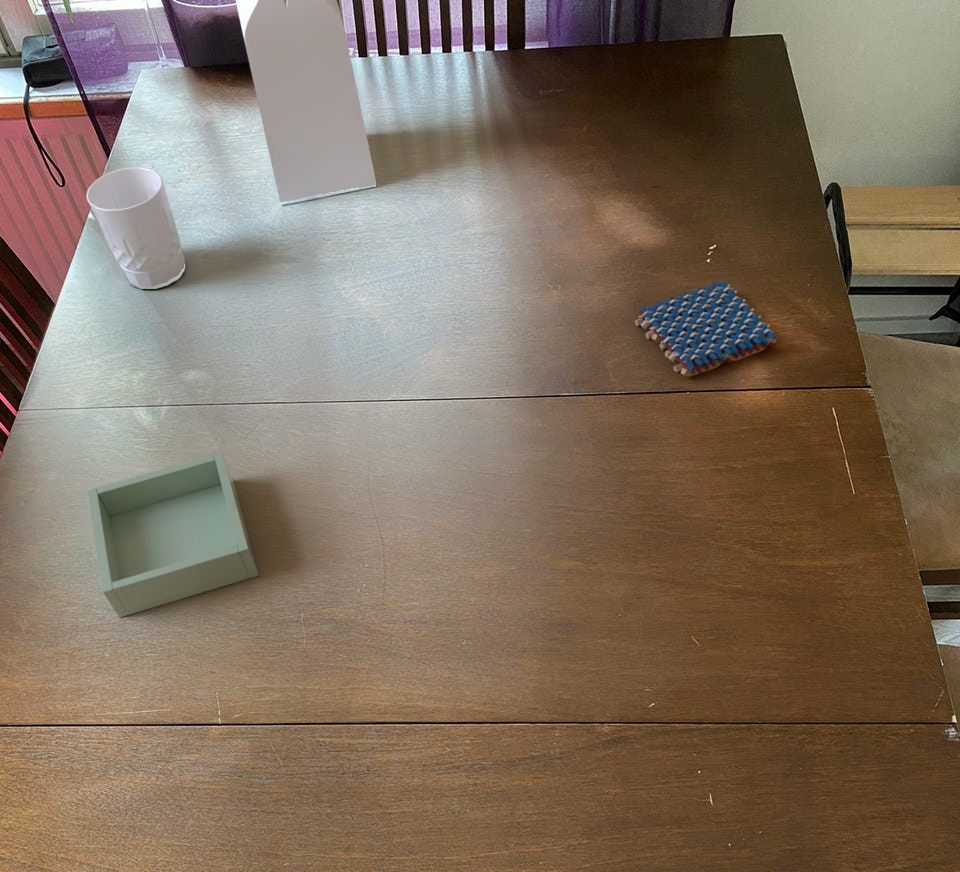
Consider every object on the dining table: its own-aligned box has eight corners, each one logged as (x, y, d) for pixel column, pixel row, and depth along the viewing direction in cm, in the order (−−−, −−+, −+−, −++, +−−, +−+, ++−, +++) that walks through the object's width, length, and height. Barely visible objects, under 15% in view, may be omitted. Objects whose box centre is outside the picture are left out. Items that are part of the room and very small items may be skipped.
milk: (377, 187, 118) (335, -66, 97) (280, 206, 117) (217, -45, 96) (360, 135, 125) (318, -112, 103) (269, 152, 124) (208, -92, 103)
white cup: (125, 255, 114) (90, 171, 105) (193, 246, 114) (164, 162, 105) (118, 298, 109) (81, 214, 101) (190, 289, 109) (159, 204, 101)
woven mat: (721, 290, 103) (724, 273, 101) (779, 351, 97) (783, 334, 95) (631, 321, 101) (632, 305, 99) (684, 385, 95) (686, 368, 94)
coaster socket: (119, 618, 84) (102, 592, 81) (102, 517, 91) (87, 490, 88) (259, 575, 86) (248, 548, 83) (233, 479, 92) (222, 451, 89)
